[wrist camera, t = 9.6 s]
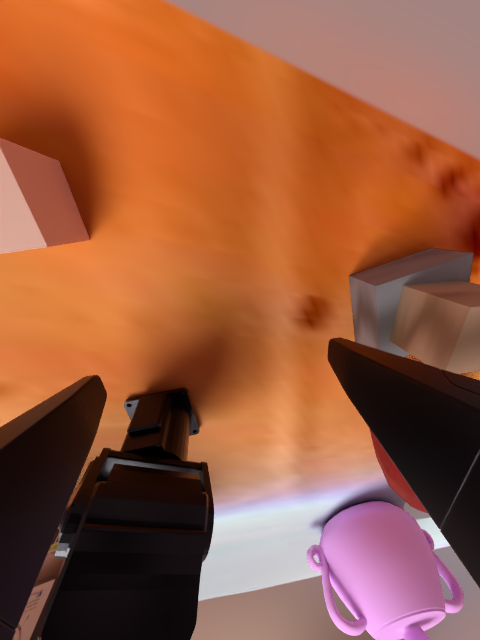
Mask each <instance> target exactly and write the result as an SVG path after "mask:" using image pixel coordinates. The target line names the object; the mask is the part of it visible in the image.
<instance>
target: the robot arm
mask: <svg viewBox="0 0 480 640" xmlns="http://www.w3.org/2000/svg"><path fill="white" fill-rule="evenodd" d="M328 361H329V363H330V365H331V367H332V369H333V371H334V372H335V374H336V376H337V378H338V380H339V382H340V384H341V385H342V387H343V389H344V391H345V393H346V394H347V396H348V397H349V399H350V400H351V402H352V403H353V404H354V406H355V407H356V409H357V410H358V412H359V413H360V415H361V416H362V418H363V419H364V420H365V422H366V423H367V425H368V426H369V428H370V429H371V431H372V432H373V434H374V435H375V436H376V438H377V439H378V441H379V442H380V444H381V445H382V447H383V448H384V450H385V451H386V452H387V454H388V455H389V457H390V458H391V460H392V461H393V463H394V464H395V465H396V467H397V468H398V470H399V471H400V473H401V474H402V476H403V477H404V479H405V480H406V481H407V483H408V484H409V486H410V487H411V489H412V490H413V492H414V493H415V495H416V496H417V497H418V499H419V500H420V502H421V503H422V505H423V506H424V508H425V509H426V511H427V512H428V513H429V515H430V516H431V518H432V519H433V521H434V522H435V524H436V525H437V526H438V528H439V529H441V530H440V531H441V533H442V534H443V536H444V537H445V538H446V540H447V541H448V543H449V544H450V546H451V547H452V549H453V550H454V552H455V553H456V554H457V556H458V557H459V559H460V560H461V562H462V563H463V565H464V566H465V567H466V569H467V570H468V572H469V573H470V575H471V576H472V578H473V579H474V581H475V582H476V583H477V585H478V586H479V588H480V381H479V380H476V379H473V378H469V377H466V376H463V375H459V374H456V373H453V372H449V371H446V370H443V369H441V370H440V369H439V368H437V367H433V366H430V365H427V364H424V363H420V362H417V361H414V360H411V359H408V358H404V357H401V356H398V355H395V354H392V353H388V352H385V351H382V350H379V349H376V348H372V347H369V346H366V345H363V344H359V343H356V342H353V341H350V340H347V339H343V338H333V339H330V340H329V345H328ZM182 393H185V394H182ZM106 398H107V393H106V390H105V388H104V385H103V383H102V381H101V378H100V377H99V376H98V375H92V376H86V377H84V378H82V379H80V380H79V381H77V382H75V383H74V384H72V385H70V386H69V387H67V388H65V389H64V390H62V391H60V392H59V393H57V394H55V395H54V396H52V397H50V398H49V399H47V400H45V401H43V402H42V403H40V404H38V405H37V406H35V407H33V408H32V409H30V410H28V411H27V412H25V413H23V414H22V415H20V416H18V417H17V418H15V419H13V420H12V421H10V422H8V423H7V424H5V425H3V426H2V427H0V640H13V637H14V635H15V632H16V630H15V629H16V628H17V627H18V624H19V622H20V619H21V617H22V615H23V612H24V610H25V607H26V605H27V602H28V600H29V597H30V595H31V593H32V590H33V588H34V585H35V583H36V580H37V578H38V575H39V573H40V571H41V568H42V566H43V563H44V561H45V558H46V556H47V554H48V551H49V549H50V546H51V544H52V541H53V539H54V536H55V534H56V532H57V529H58V528H59V530H60V534H59V537H58V542H59V543H58V546H57V549H56V553H55V556H54V559H66V560H65V563H64V565H63V568H62V570H61V573H60V575H59V578H58V581H57V583H56V586H55V588H54V591H53V594H52V596H51V599H50V601H49V604H48V606H47V609H46V612H45V616H44V623H43V624H44V627H43V630H42V634H41V640H190V639H191V636H192V633H193V631H194V628H195V625H196V619H197V606H198V594H199V583H200V573H201V566H202V562H203V561H204V560H205V558H206V556H207V554H208V551H209V547H210V543H211V538H212V532H213V523H214V504H213V497H212V491H211V484H210V478H209V472H208V465H207V463H205V462H201V463H197V462H190V461H187V454H188V443H189V436H191V435H195V434H198V433H199V425H198V422H197V419H196V415H195V412H194V409H193V406H192V402H191V399H190V396H189V393H188V390H187V389H185V388H182V389H177V390H172V391H167V392H161V393H156V394H151V395H146V396H141V397H136V398H131V399H127V400H126V401H125V403H124V407H125V409H126V411H127V413H128V415H129V417H130V419H131V422H130V424H129V427H128V429H127V435H126V437H125V440H124V443H123V445H122V448H121V450H120V451H114V450H111V449H110V448H103V450H102V452H101V454H100V456H99V457H96V459H95V460H94V461H92V462H90V464H89V466H88V468H87V470H86V472H85V474H84V476H83V478H82V480H81V482H80V483H79V485H78V487H77V488H76V490H75V491H74V493H73V490H74V488H75V485H76V483H77V480H78V478H79V475H80V473H81V471H82V468H83V466H84V463H85V461H86V458H87V456H88V454H89V451H90V449H91V446H92V444H93V441H94V438H95V436H96V433H97V429H98V426H99V423H100V419H101V416H102V412H103V409H104V406H105V402H106ZM72 493H73V494H72ZM71 495H72V496H71Z"/></svg>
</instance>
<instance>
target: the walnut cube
mask: <svg viewBox="0 0 480 640" xmlns="http://www.w3.org/2000/svg"><path fill="white" fill-rule="evenodd" d="M389 341H391V342H392V343H394V344H395V345H397V346H398V347H400V348H401V349H403V350H404V351H406V352H408V353H409V354H411V355H412V356H414V357H415V358H417V359H418V360H420V361H421V362H423V363H424V364H427V365H430V366H433V367H437V368H439V369H440V370H441V369H443V370H446V371H449V372H453V373H456V374H461V373H468V372H475V371H480V285H478V284H474V283H469V282H465V281H461V280H456V281H446V282H435V283H425V284H414V285H404V286H403V288H402V292H401V296H400V300H399V304H398V308H397V312H396V316H395V320H394V324H393V328H392V332H391V336H390V340H389Z"/></svg>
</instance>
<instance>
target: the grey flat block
mask: <svg viewBox="0 0 480 640" xmlns="http://www.w3.org/2000/svg"><path fill="white" fill-rule="evenodd" d="M473 254H474V253H470V252H461V251H453V250H444V249H436V248H429V249H427V250H424V251H421V252H418V253H415V254H412V255H409V256H406V257H403V258H400V259H397V260H394V261H391V262H388V263H385V264H382V265H380V266H377V267H374V268H371V269H368V270H365V271H362V272H359V273H356V274H353V275H350V276H349V281H350V292H351V302H352V313H353V323H354V334H355V342H356V343H359V344H363V345H366V346H369V347H372V348H376V349H379V350H382V351H385V352H388V353H392V354H395V355H398V356H401V357H406V356H409V355H411V354H409V353H408V352H406V351H404V350H403V349H401V348H400V347H398V346H397V345H395V344H394V343H392V342H391V341H389V340H390V336H391V332H392V328H393V324H394V320H395V316H396V312H397V308H398V304H399V300H400V296H401V292H402V288H403V286H404V285H414V284H425V283H435V282H446V281H456V280H461V281H465V282H470V275H471V268H472V261H473Z"/></svg>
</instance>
